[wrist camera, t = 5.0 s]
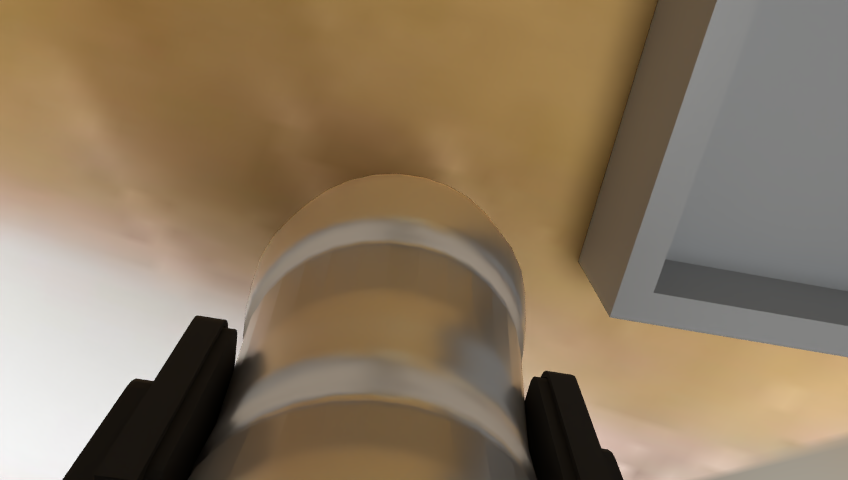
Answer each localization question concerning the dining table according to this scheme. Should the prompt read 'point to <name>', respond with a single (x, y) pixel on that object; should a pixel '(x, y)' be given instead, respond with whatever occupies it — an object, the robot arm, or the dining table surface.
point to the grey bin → (732, 176)
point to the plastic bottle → (379, 345)
